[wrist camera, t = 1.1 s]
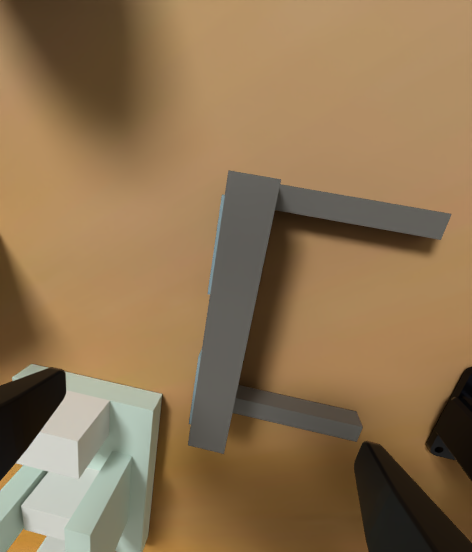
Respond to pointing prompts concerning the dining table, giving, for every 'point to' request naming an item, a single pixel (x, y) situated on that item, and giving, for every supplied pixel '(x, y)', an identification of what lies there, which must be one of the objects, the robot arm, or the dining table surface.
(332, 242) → the dining table surface
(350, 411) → the sunglasses
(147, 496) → the mint stepped display stand
